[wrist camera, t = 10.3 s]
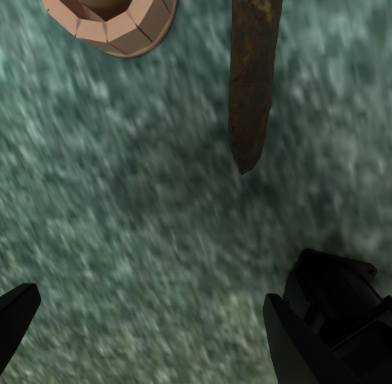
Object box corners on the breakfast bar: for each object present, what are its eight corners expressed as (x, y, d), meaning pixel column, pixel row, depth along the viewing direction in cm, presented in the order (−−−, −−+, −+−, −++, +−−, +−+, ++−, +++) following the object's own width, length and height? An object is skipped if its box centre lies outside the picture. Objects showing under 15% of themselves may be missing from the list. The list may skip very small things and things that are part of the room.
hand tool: (231, -145, 13) (232, -276, 9) (301, -151, 13) (339, -292, 8) (208, 165, 19) (203, 179, 15) (254, 169, 19) (262, 184, 15)
